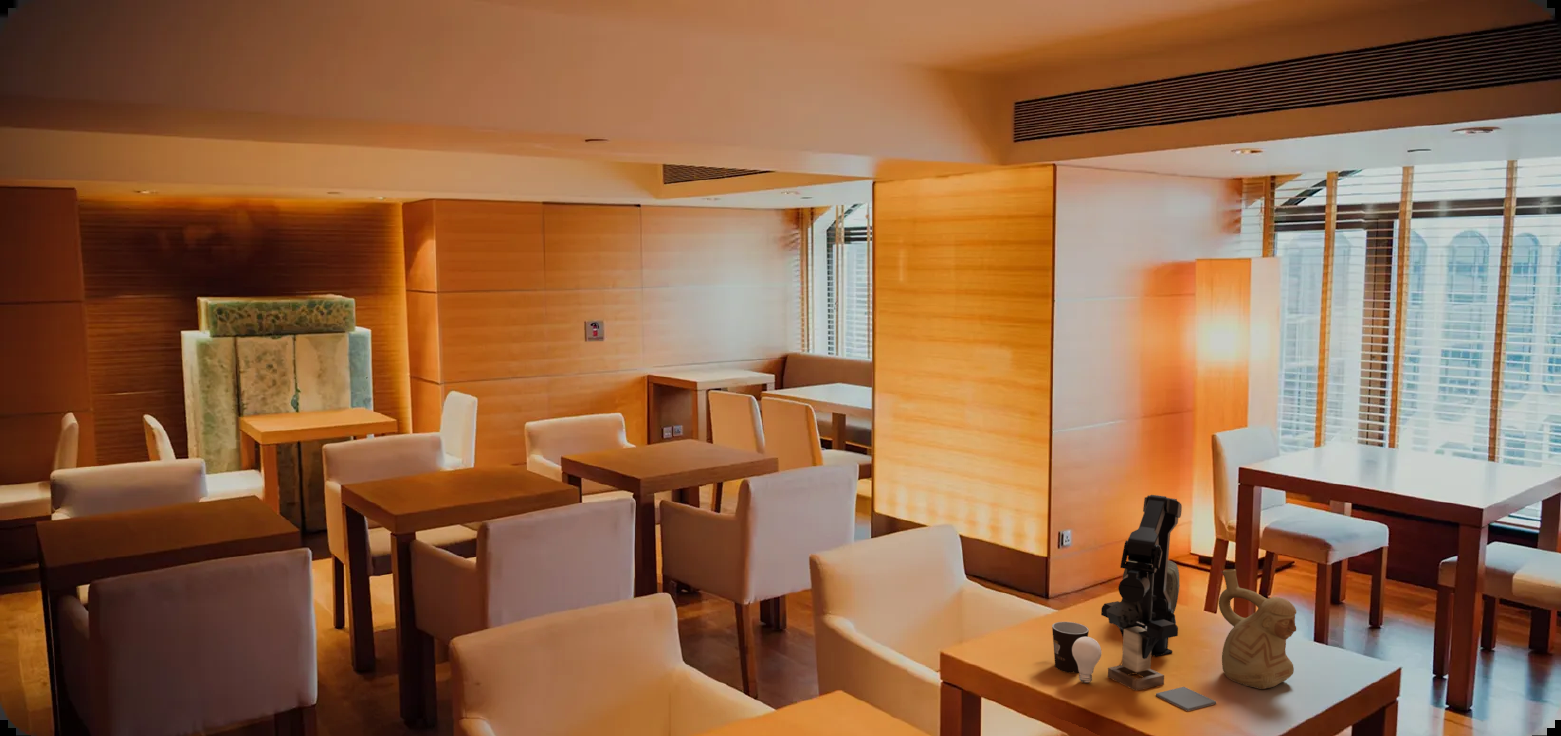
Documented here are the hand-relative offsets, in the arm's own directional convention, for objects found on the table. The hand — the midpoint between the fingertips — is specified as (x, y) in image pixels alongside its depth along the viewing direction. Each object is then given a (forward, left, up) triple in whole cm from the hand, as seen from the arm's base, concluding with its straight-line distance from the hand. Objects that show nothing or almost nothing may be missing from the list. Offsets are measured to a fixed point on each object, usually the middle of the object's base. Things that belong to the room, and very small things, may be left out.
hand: (1136, 654), depth 241 cm
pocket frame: (0, 0, -6) cm, 6 cm away
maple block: (0, 0, -3) cm, 3 cm away
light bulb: (+12, -4, -6) cm, 14 cm away
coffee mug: (+8, -14, -6) cm, 17 cm away
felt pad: (-2, +13, -6) cm, 15 cm away
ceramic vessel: (-27, +11, -6) cm, 30 cm away
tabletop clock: (-33, -27, -6) cm, 43 cm away
